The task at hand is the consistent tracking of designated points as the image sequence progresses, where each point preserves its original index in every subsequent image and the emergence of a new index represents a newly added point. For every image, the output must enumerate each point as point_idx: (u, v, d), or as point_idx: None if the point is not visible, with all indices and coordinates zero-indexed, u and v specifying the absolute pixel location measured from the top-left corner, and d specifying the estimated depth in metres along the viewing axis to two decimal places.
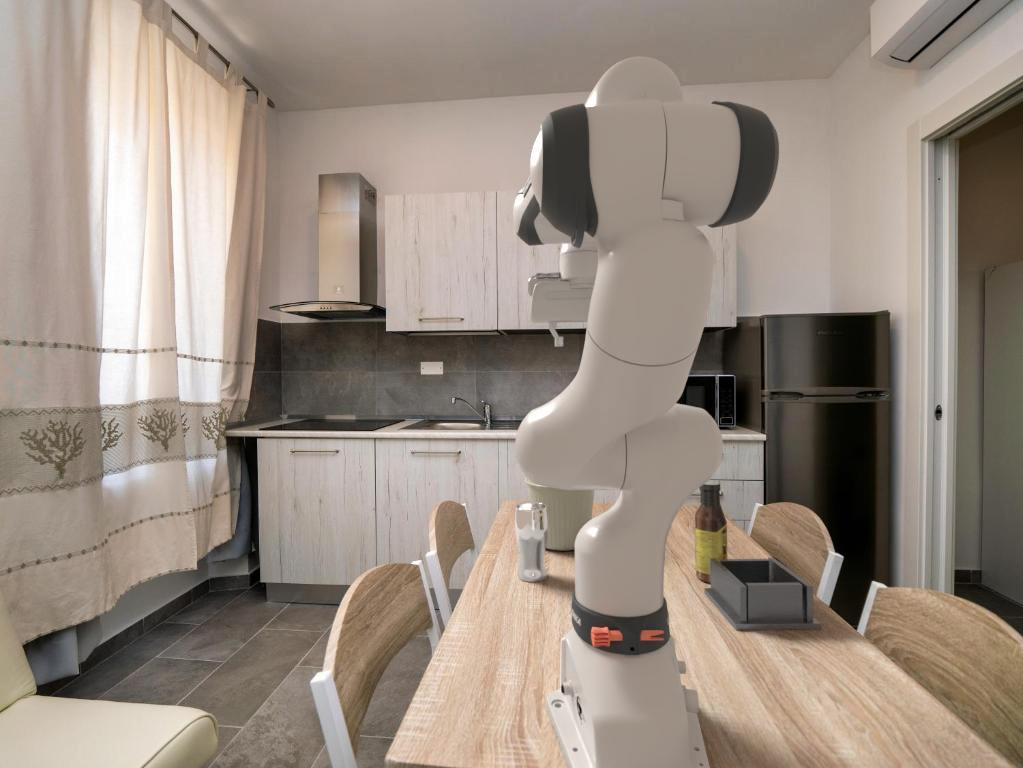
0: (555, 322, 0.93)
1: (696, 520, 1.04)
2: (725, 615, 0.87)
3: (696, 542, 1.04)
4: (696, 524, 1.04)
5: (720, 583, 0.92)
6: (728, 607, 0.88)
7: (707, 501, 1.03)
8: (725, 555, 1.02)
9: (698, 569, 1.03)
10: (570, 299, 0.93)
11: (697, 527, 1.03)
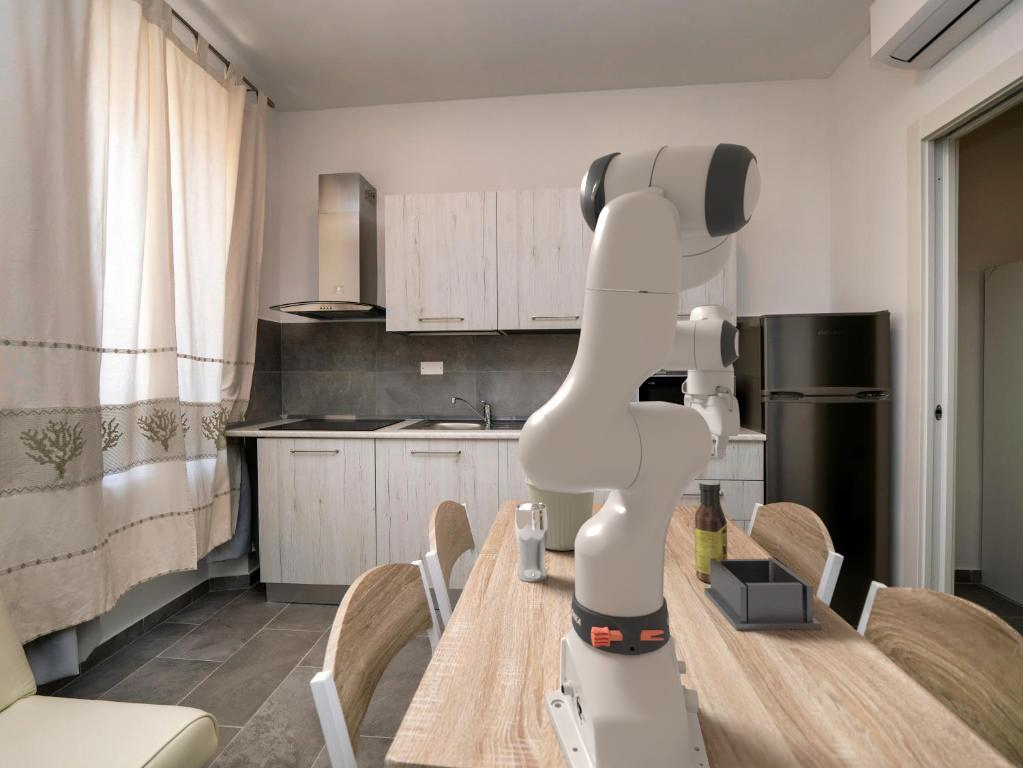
0: None
1: (696, 520, 1.04)
2: (725, 615, 0.87)
3: (696, 542, 1.04)
4: (696, 524, 1.04)
5: (720, 583, 0.92)
6: (728, 607, 0.88)
7: (707, 501, 1.03)
8: (725, 555, 1.02)
9: (698, 569, 1.03)
10: None
11: (697, 527, 1.03)
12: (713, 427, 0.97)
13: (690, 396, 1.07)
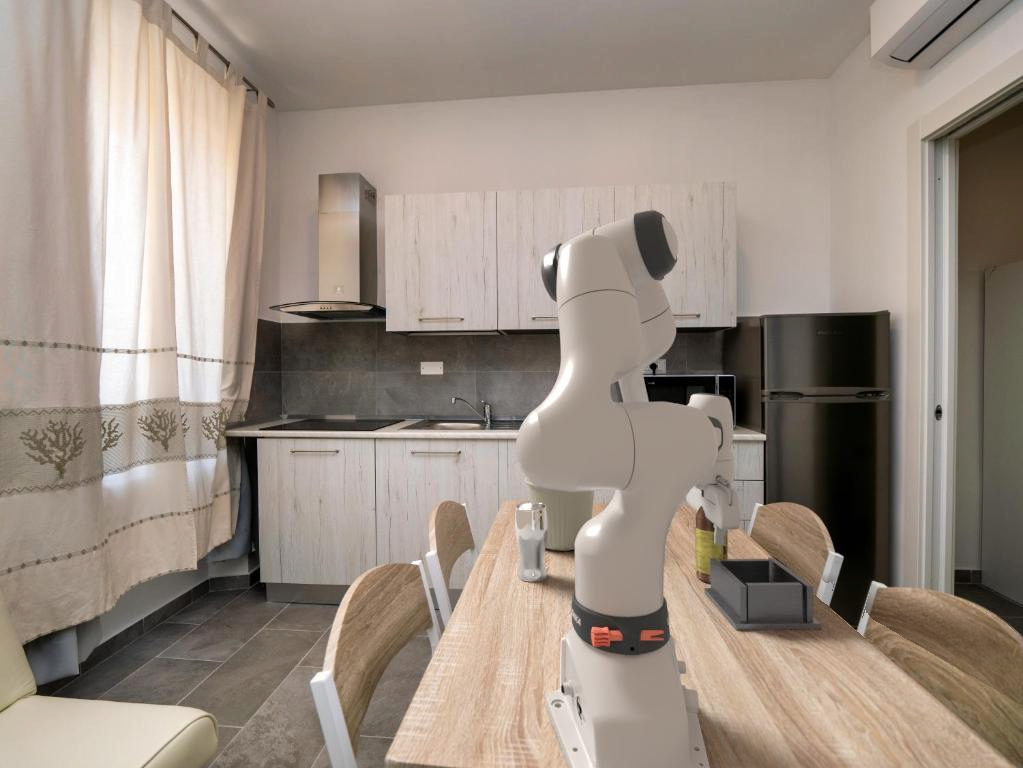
0: None
1: (697, 520, 1.04)
2: (725, 615, 0.87)
3: (696, 542, 1.04)
4: (697, 524, 1.04)
5: (720, 583, 0.92)
6: (728, 607, 0.88)
7: None
8: (725, 555, 1.02)
9: (698, 569, 1.03)
10: None
11: (698, 527, 1.03)
12: (713, 518, 0.98)
13: None
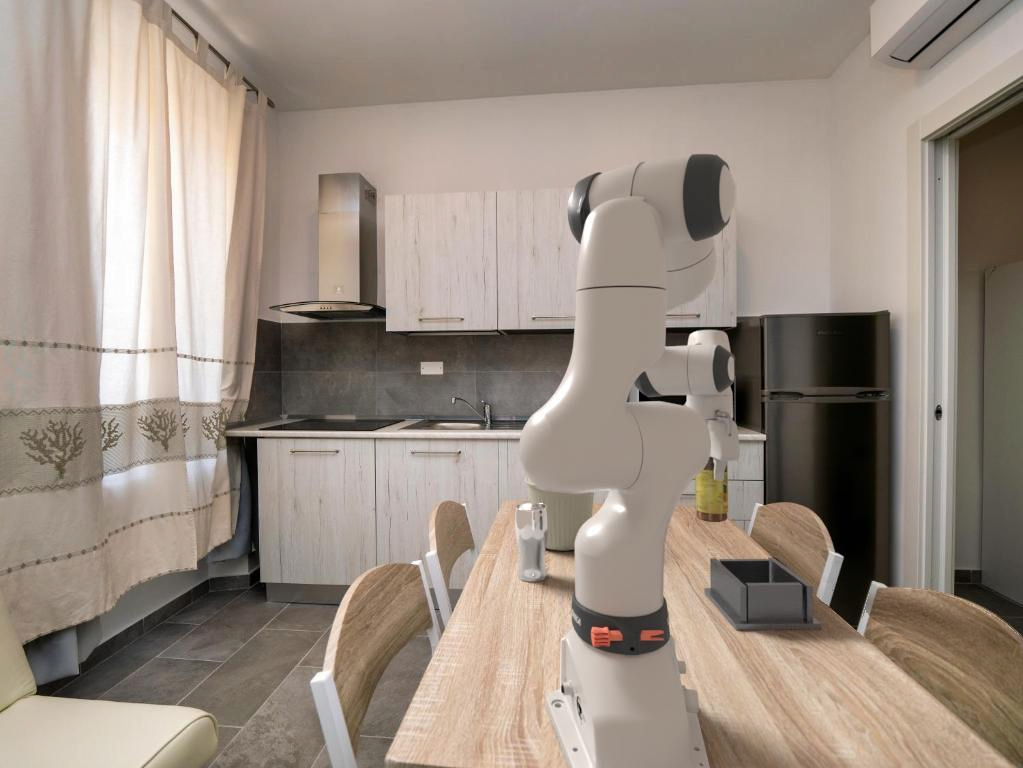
0: None
1: None
2: (725, 615, 0.87)
3: (696, 482, 1.03)
4: None
5: (720, 583, 0.92)
6: (728, 607, 0.88)
7: None
8: (725, 494, 1.01)
9: (698, 509, 1.03)
10: None
11: None
12: (713, 451, 0.97)
13: None
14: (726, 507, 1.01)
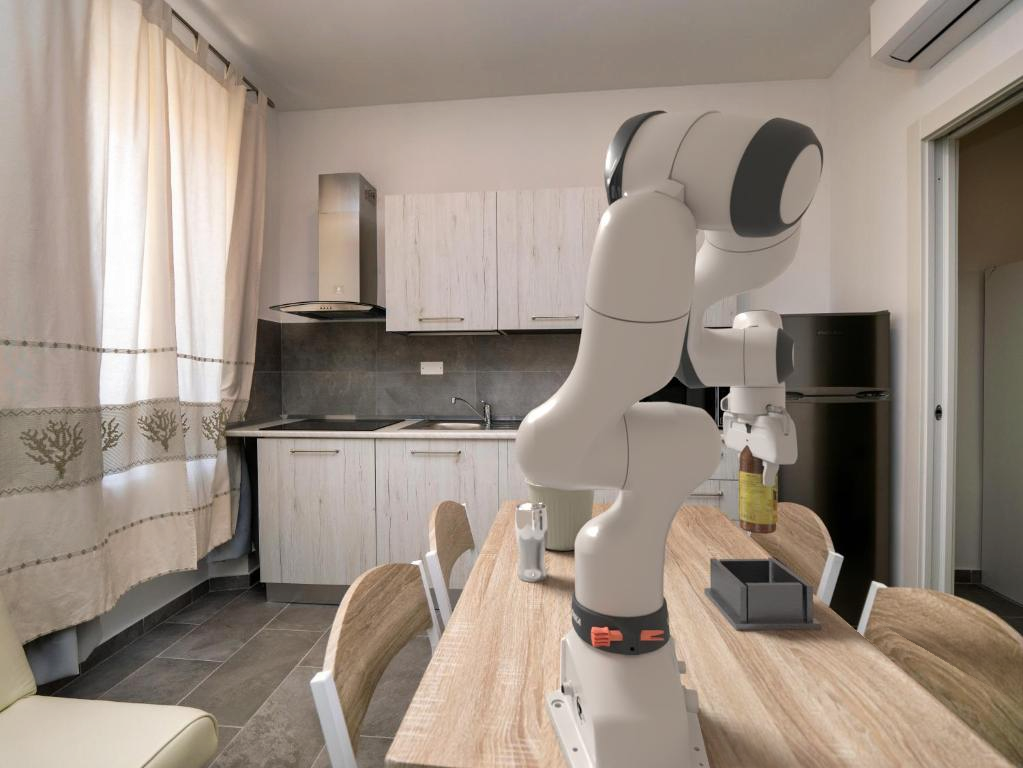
0: None
1: (741, 462, 0.89)
2: (725, 615, 0.87)
3: (741, 487, 0.89)
4: (742, 466, 0.89)
5: (720, 583, 0.92)
6: (728, 607, 0.88)
7: None
8: (775, 501, 0.87)
9: (743, 518, 0.89)
10: None
11: (742, 469, 0.89)
12: (764, 453, 0.83)
13: (732, 415, 0.93)
14: (776, 516, 0.87)
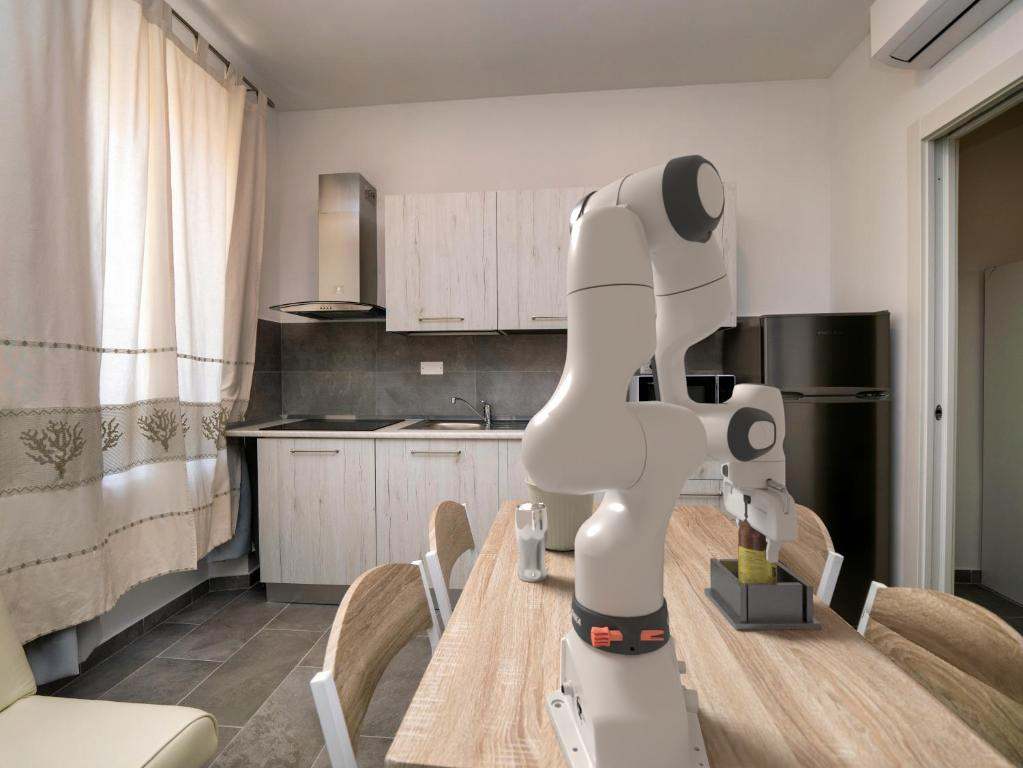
0: None
1: (740, 537, 0.90)
2: (725, 615, 0.87)
3: (740, 562, 0.90)
4: (741, 541, 0.90)
5: (720, 583, 0.92)
6: (728, 607, 0.88)
7: None
8: (775, 578, 0.88)
9: None
10: None
11: (741, 545, 0.89)
12: (764, 528, 0.83)
13: (732, 482, 0.93)
14: None
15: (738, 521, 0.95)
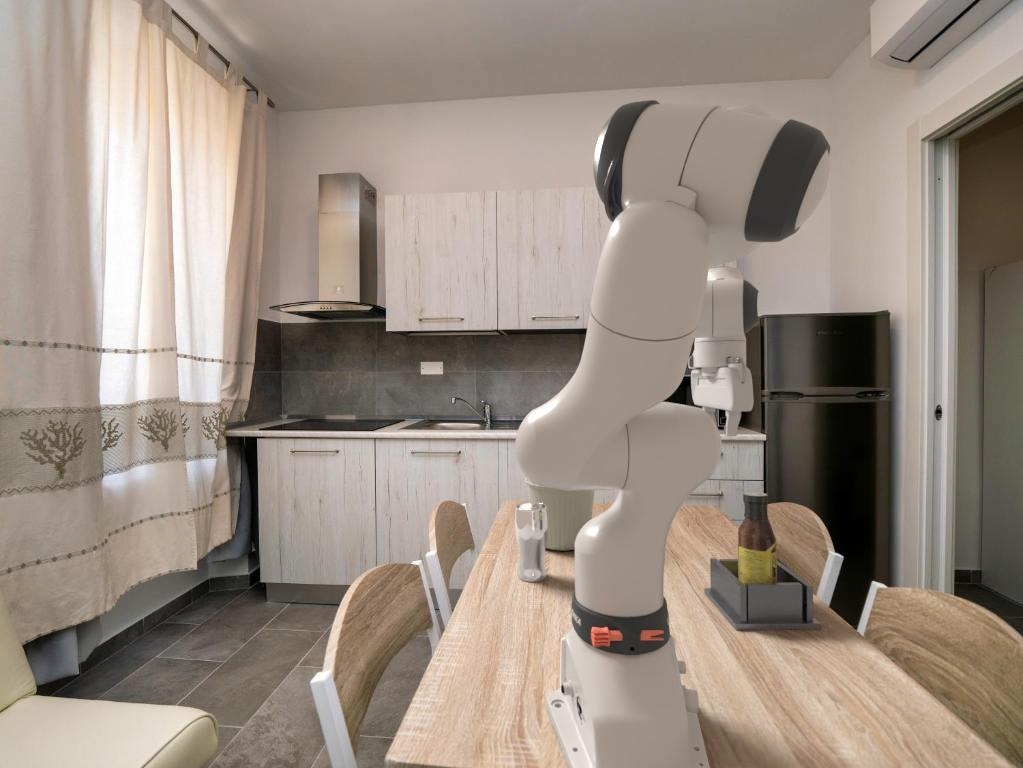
0: None
1: (740, 537, 0.90)
2: (725, 615, 0.87)
3: (740, 562, 0.90)
4: (741, 542, 0.90)
5: (720, 583, 0.92)
6: (728, 607, 0.88)
7: (753, 515, 0.89)
8: (775, 578, 0.88)
9: None
10: None
11: (741, 545, 0.89)
12: (723, 402, 0.87)
13: (697, 371, 0.97)
14: None
15: (704, 410, 0.98)
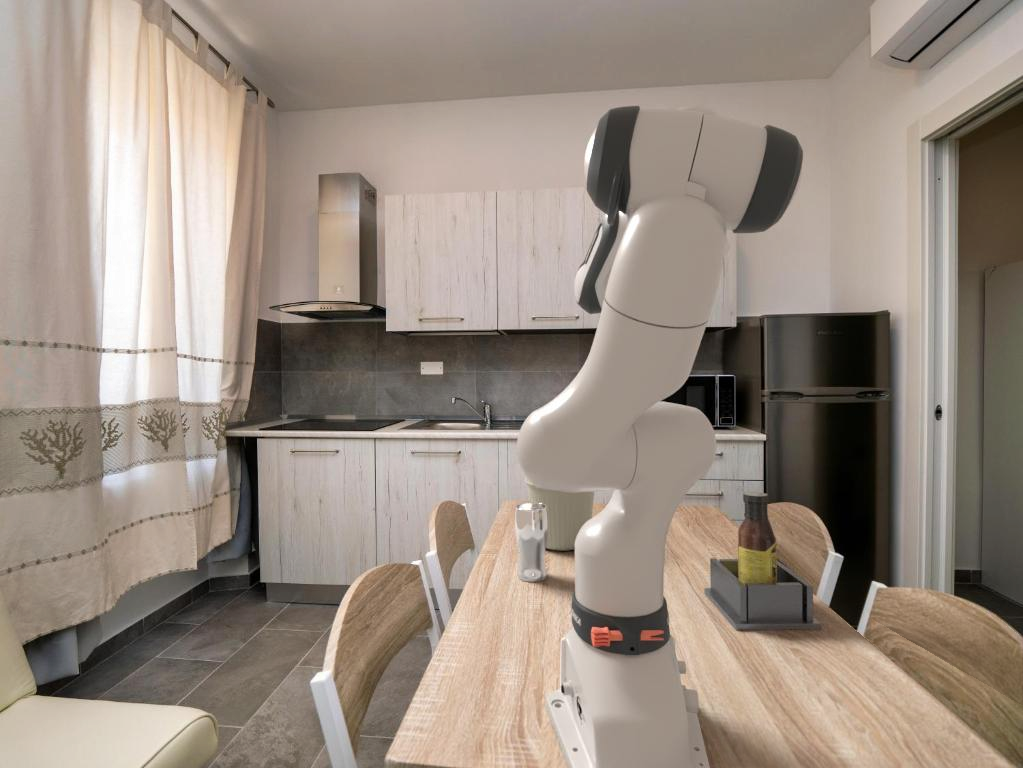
0: None
1: (740, 537, 0.90)
2: (725, 615, 0.87)
3: (740, 562, 0.90)
4: (741, 542, 0.90)
5: (720, 583, 0.92)
6: (728, 607, 0.88)
7: (753, 515, 0.89)
8: (775, 578, 0.88)
9: None
10: None
11: (741, 545, 0.89)
12: None
13: None
14: None
15: None
